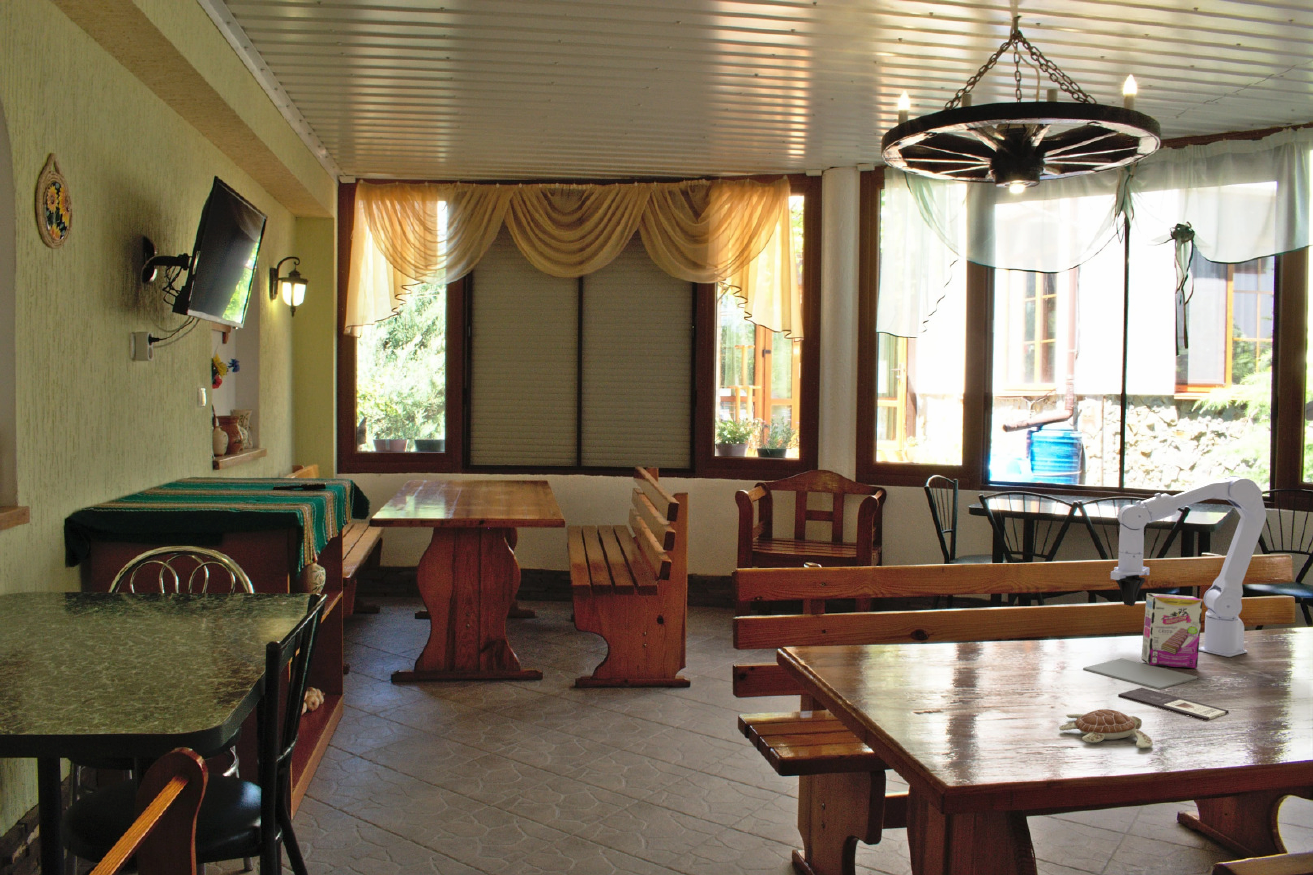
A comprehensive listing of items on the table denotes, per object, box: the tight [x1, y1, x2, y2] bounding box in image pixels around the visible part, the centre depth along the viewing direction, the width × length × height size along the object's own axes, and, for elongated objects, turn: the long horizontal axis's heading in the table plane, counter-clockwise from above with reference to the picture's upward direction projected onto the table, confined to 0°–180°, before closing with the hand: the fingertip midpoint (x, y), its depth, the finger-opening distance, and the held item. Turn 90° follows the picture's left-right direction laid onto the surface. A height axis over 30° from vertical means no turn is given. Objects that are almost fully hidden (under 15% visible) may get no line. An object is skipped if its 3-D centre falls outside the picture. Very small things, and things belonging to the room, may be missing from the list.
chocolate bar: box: [1117, 687, 1229, 721], centre depth 201 cm, size 9×1×18 cm
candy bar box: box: [1141, 592, 1203, 669], centre depth 230 cm, size 11×5×16 cm, turn 84°
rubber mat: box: [1082, 657, 1198, 690], centre depth 223 cm, size 16×18×1 cm
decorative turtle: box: [1058, 708, 1154, 749], centre depth 182 cm, size 18×17×5 cm
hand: (1129, 605), depth 249 cm, fingers closed
